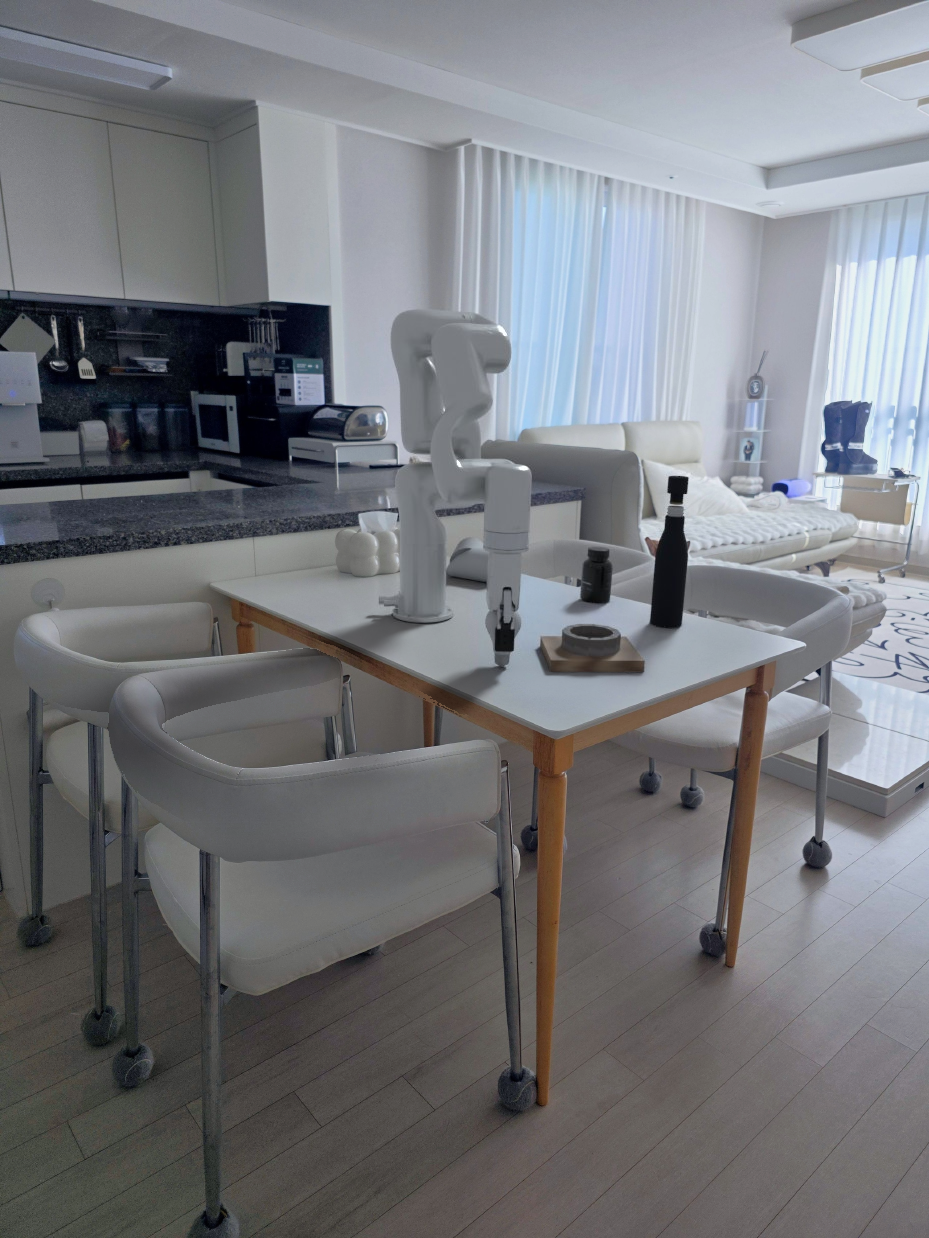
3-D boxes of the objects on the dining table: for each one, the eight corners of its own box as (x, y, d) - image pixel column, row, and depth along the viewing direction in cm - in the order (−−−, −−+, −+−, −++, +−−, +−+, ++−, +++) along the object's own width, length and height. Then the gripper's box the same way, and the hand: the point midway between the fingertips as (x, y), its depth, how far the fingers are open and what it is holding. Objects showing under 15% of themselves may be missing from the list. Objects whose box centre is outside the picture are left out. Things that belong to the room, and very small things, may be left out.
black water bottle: (675, 629, 165) (689, 479, 157) (645, 624, 168) (657, 476, 160) (685, 622, 170) (699, 476, 162) (655, 617, 174) (668, 474, 166)
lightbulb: (516, 674, 138) (519, 610, 135) (481, 670, 139) (482, 608, 136) (521, 662, 144) (524, 601, 141) (487, 659, 145) (489, 599, 142)
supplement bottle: (576, 602, 185) (579, 549, 182) (584, 595, 192) (587, 544, 188) (606, 605, 183) (610, 552, 180) (613, 598, 189) (616, 547, 186)
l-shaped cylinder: (421, 572, 207) (487, 583, 196) (427, 530, 207) (494, 539, 195) (461, 575, 222) (524, 586, 211) (466, 536, 221) (530, 545, 210)
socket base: (550, 671, 139) (551, 643, 138) (540, 646, 153) (541, 620, 152) (643, 671, 140) (646, 643, 139) (625, 646, 154) (627, 621, 152)
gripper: (480, 531, 143) (477, 629, 148) (486, 550, 127) (483, 661, 132) (523, 531, 144) (519, 630, 149) (535, 551, 127) (530, 661, 132)
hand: (502, 643), depth 140 cm, fingers closed on lightbulb, 6 cm apart
